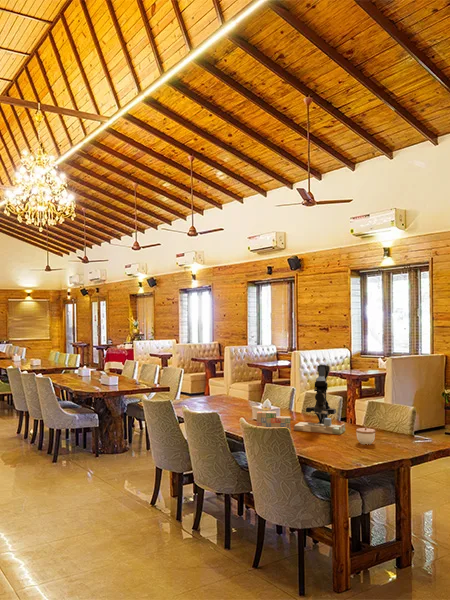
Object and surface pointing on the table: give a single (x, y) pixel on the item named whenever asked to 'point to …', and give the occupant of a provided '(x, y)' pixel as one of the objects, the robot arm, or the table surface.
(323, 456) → the table surface
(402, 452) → the table surface
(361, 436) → the lidded jar
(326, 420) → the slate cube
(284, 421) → the stack of blocks
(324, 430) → the board
